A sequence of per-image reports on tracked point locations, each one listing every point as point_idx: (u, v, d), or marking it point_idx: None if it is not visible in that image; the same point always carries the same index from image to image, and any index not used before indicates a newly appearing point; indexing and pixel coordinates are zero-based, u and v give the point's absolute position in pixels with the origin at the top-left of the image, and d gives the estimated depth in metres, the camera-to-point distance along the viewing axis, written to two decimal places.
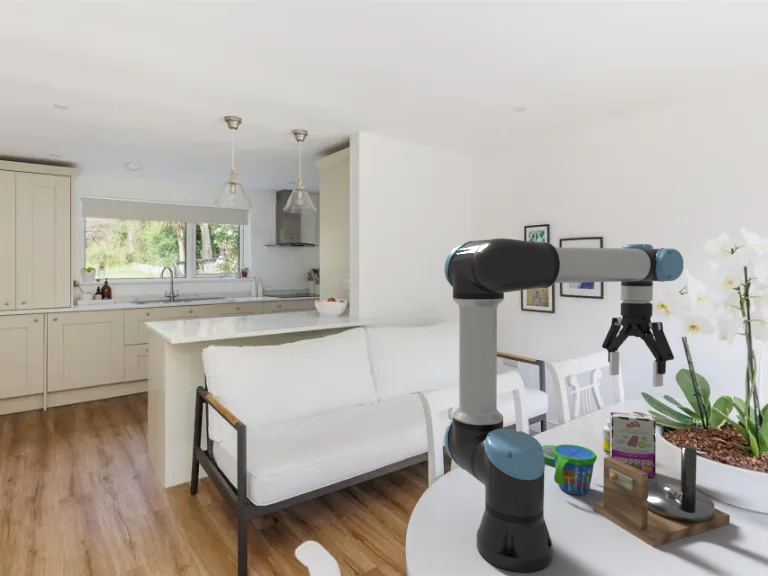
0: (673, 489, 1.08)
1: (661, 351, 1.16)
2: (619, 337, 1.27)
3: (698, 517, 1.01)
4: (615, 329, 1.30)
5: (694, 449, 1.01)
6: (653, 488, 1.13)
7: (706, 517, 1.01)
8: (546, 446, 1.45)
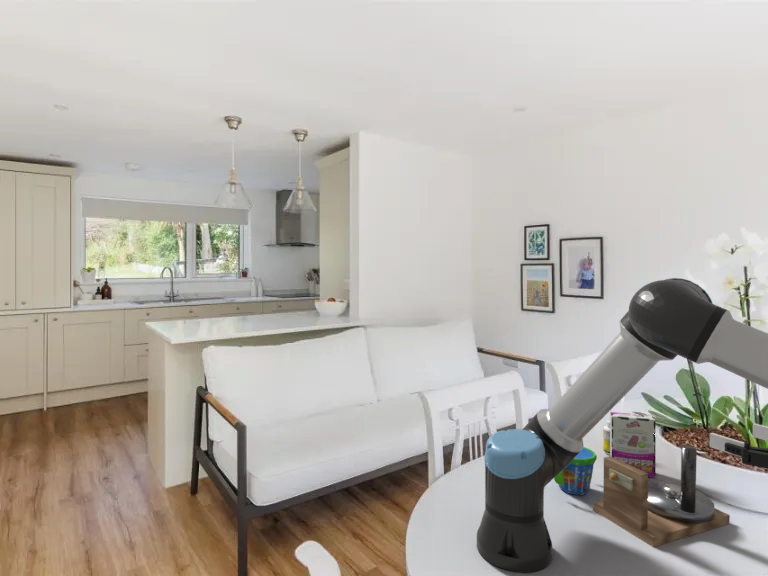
0: (673, 489, 1.08)
1: (758, 451, 0.82)
2: None
3: (698, 517, 1.01)
4: None
5: (694, 449, 1.01)
6: (653, 488, 1.13)
7: (706, 517, 1.01)
8: None
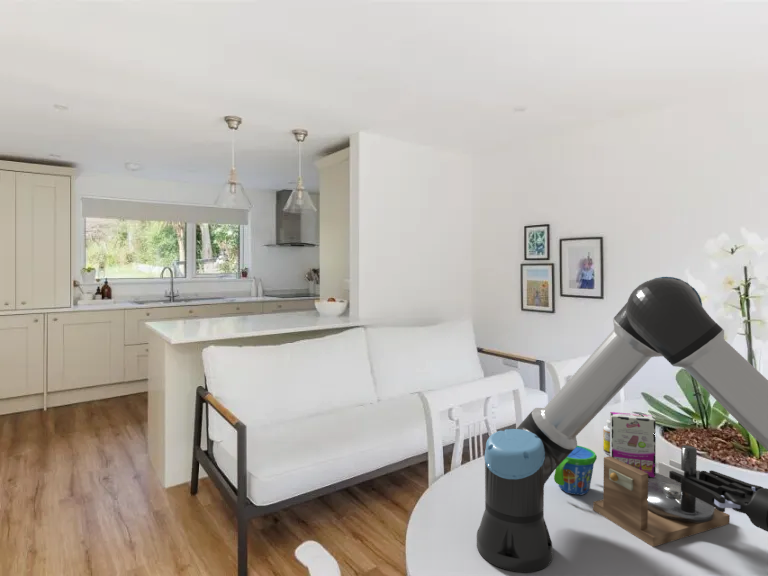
0: (673, 489, 1.08)
1: (692, 482, 0.97)
2: (726, 482, 0.96)
3: (698, 517, 1.01)
4: (742, 487, 0.96)
5: (694, 449, 1.01)
6: (653, 488, 1.13)
7: (706, 517, 1.01)
8: None
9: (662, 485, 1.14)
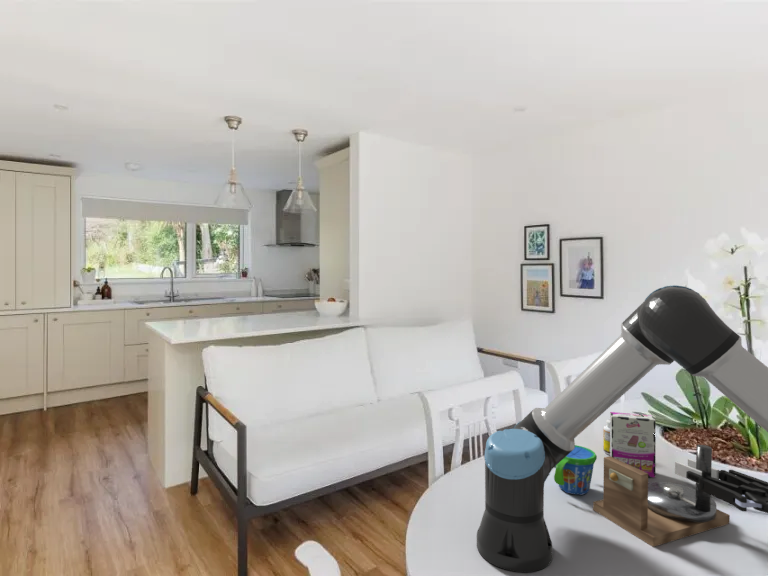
0: (676, 489, 1.08)
1: (711, 482, 0.97)
2: (746, 481, 0.97)
3: (713, 514, 1.02)
4: None
5: (709, 447, 1.02)
6: (652, 491, 1.11)
7: None
8: None
9: (654, 486, 1.14)
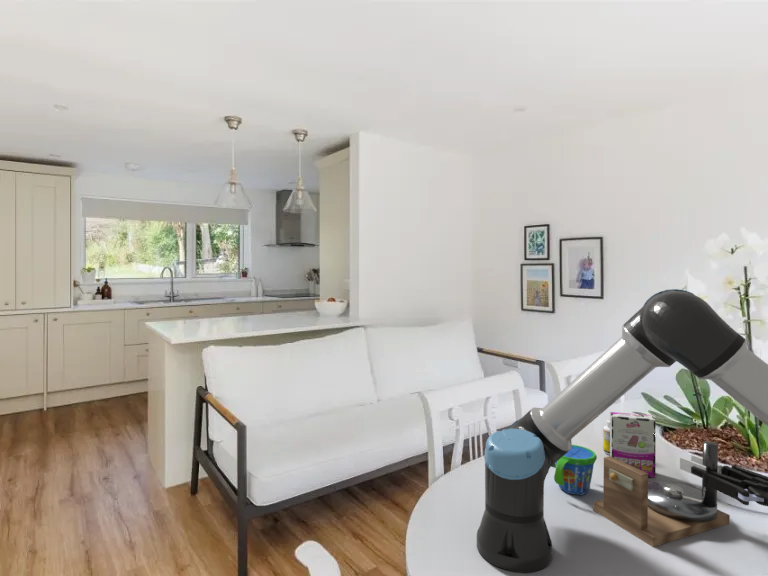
0: (677, 489, 1.08)
1: (715, 476, 0.99)
2: (748, 477, 0.99)
3: None
4: None
5: (715, 443, 1.04)
6: (657, 496, 1.09)
7: None
8: None
9: (650, 489, 1.12)
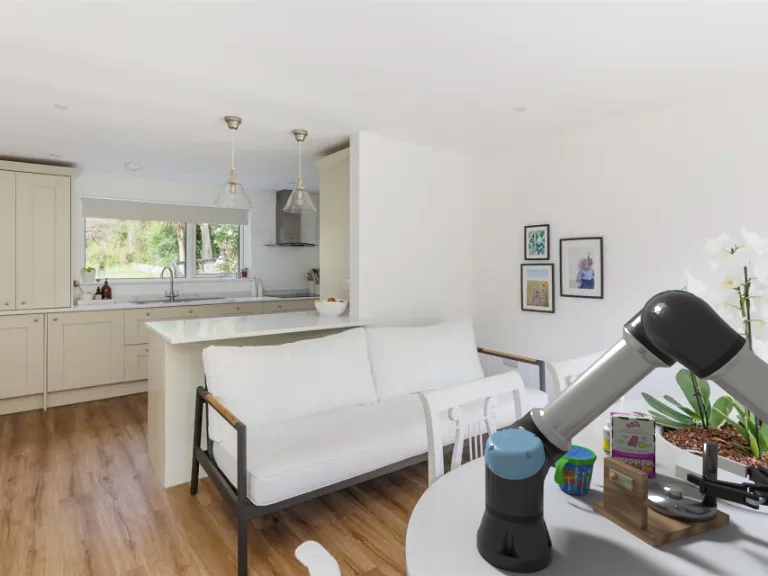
0: (677, 489, 1.08)
1: (713, 483, 0.96)
2: (762, 477, 0.99)
3: None
4: None
5: (715, 443, 1.04)
6: (657, 496, 1.09)
7: None
8: None
9: (650, 489, 1.12)
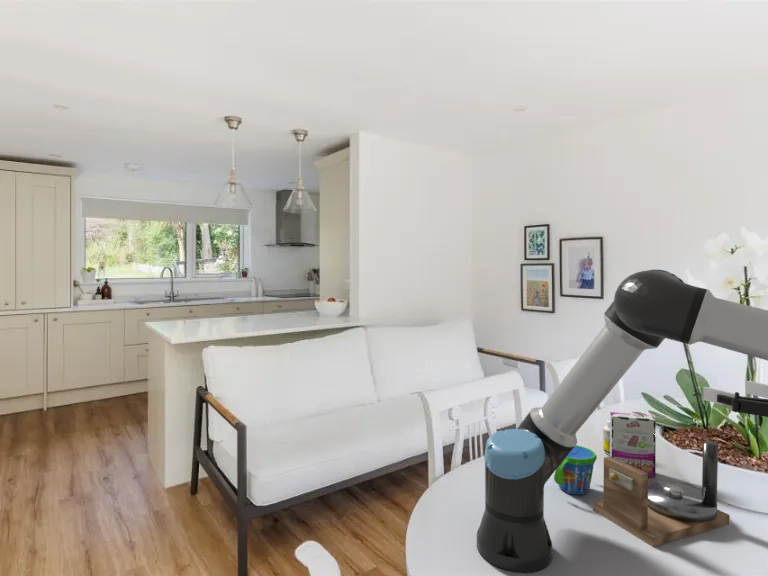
0: (677, 489, 1.08)
1: (748, 400, 0.87)
2: None
3: None
4: None
5: (715, 443, 1.04)
6: (657, 496, 1.09)
7: None
8: None
9: (650, 489, 1.12)
